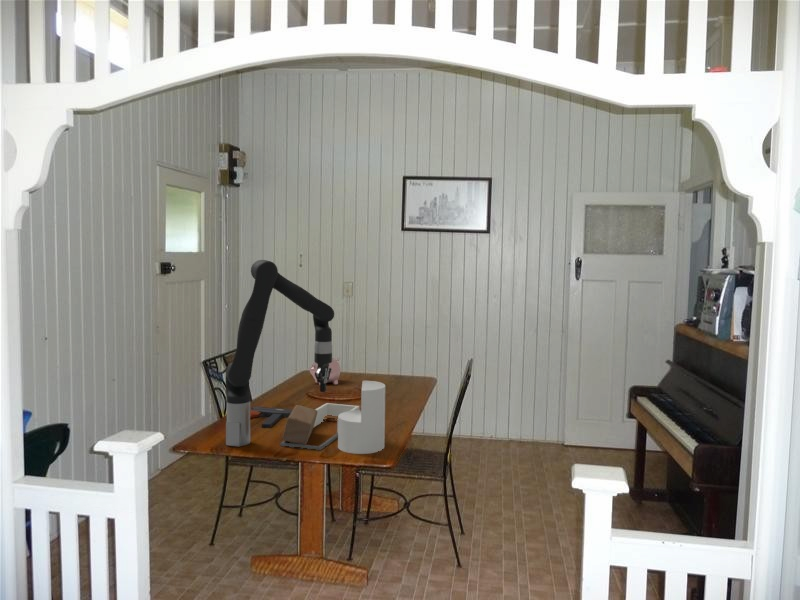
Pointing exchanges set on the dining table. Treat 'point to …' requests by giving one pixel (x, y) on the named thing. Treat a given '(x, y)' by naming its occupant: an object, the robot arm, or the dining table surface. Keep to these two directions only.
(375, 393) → the cylinder
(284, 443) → the frame
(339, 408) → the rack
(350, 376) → the dining table surface
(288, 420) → the wooden block
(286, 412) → the submachine gun
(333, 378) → the piggy bank
